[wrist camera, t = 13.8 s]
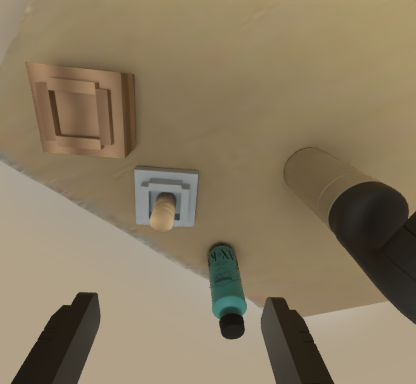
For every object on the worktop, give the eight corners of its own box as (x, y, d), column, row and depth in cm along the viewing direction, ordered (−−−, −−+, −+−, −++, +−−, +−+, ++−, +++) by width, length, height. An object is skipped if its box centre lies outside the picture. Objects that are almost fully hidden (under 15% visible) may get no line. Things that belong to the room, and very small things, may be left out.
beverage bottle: (239, 253, 56) (261, 335, 38) (216, 266, 57) (227, 351, 39) (224, 235, 54) (241, 313, 36) (201, 249, 55) (205, 331, 37)
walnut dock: (134, 74, 39) (117, 72, 30) (136, 145, 44) (122, 161, 35) (57, 66, 37) (17, 61, 29) (68, 140, 42) (37, 154, 34)
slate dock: (198, 170, 46) (198, 179, 42) (193, 221, 51) (193, 233, 47) (136, 166, 45) (131, 174, 41) (138, 218, 50) (133, 230, 46)
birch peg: (177, 191, 46) (173, 212, 39) (176, 209, 48) (173, 232, 40) (156, 190, 46) (149, 211, 38) (156, 208, 47) (149, 231, 40)
